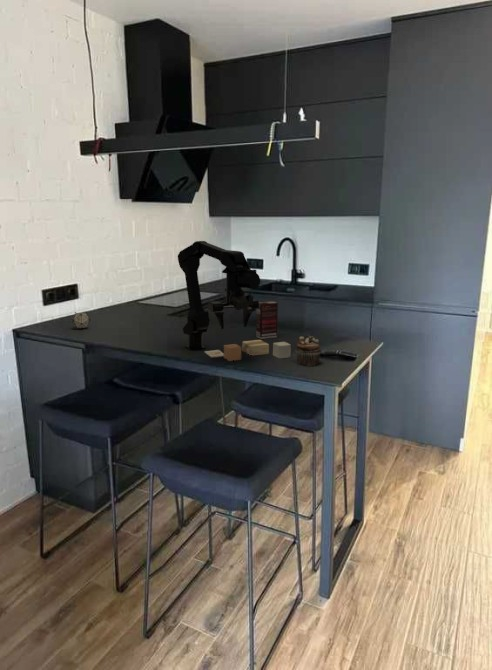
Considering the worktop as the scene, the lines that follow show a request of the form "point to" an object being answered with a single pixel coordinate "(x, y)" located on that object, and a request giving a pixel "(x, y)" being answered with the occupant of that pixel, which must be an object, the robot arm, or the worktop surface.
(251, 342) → the maple base block
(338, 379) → the worktop surface
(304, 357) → the cupcake
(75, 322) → the beige faceted ball
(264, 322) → the supplement box
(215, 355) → the card
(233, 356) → the terracotta cube
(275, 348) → the grey plastic cube
